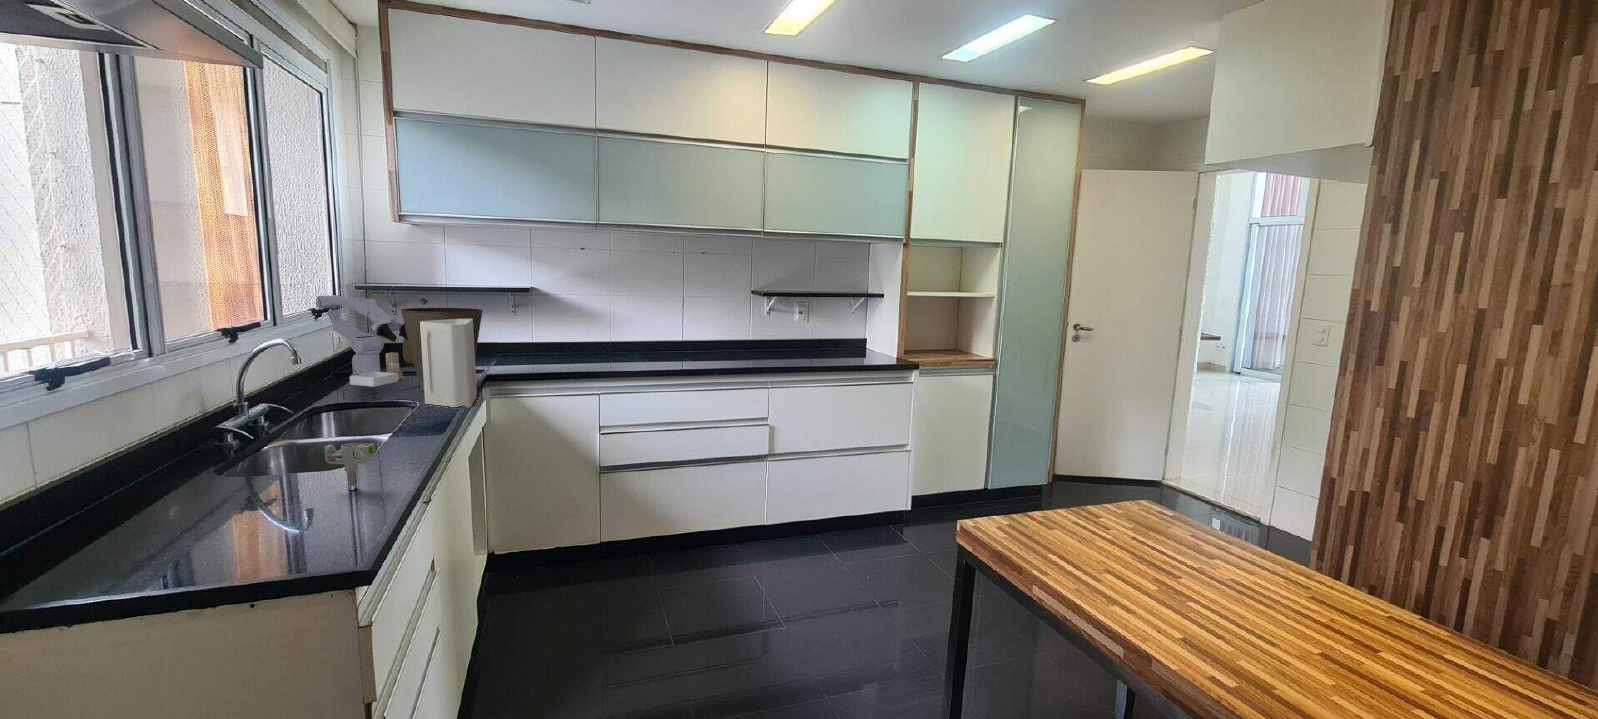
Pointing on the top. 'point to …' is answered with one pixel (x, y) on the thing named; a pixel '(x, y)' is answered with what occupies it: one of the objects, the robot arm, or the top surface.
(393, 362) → the strut
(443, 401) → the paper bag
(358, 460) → the mechanical component
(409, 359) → the squeeze bottle
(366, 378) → the tray
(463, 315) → the waste basket
